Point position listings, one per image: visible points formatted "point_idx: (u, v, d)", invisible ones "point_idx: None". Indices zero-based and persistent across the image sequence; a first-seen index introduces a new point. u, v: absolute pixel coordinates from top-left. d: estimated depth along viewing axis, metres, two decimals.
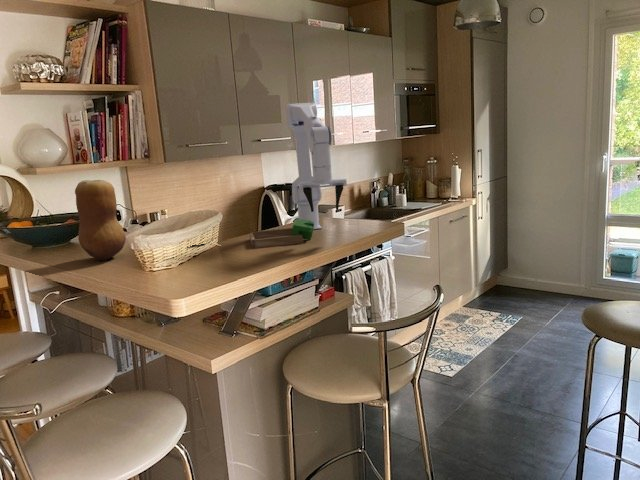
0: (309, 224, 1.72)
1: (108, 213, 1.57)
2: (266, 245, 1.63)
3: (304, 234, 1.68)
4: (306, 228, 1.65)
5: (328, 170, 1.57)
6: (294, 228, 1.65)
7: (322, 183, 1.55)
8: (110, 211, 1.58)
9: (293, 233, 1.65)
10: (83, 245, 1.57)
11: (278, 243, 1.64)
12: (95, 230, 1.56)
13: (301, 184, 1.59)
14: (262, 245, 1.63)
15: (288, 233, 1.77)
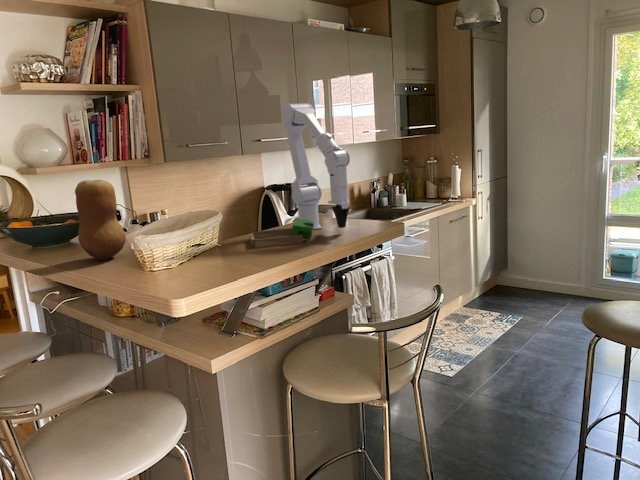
0: (309, 224, 1.72)
1: (108, 213, 1.57)
2: (266, 245, 1.63)
3: (304, 234, 1.68)
4: (306, 228, 1.65)
5: (334, 191, 1.69)
6: (294, 228, 1.65)
7: (328, 202, 1.71)
8: (110, 211, 1.58)
9: (293, 233, 1.65)
10: (83, 245, 1.57)
11: (278, 243, 1.64)
12: (95, 230, 1.56)
13: None
14: (262, 245, 1.63)
15: (288, 233, 1.77)
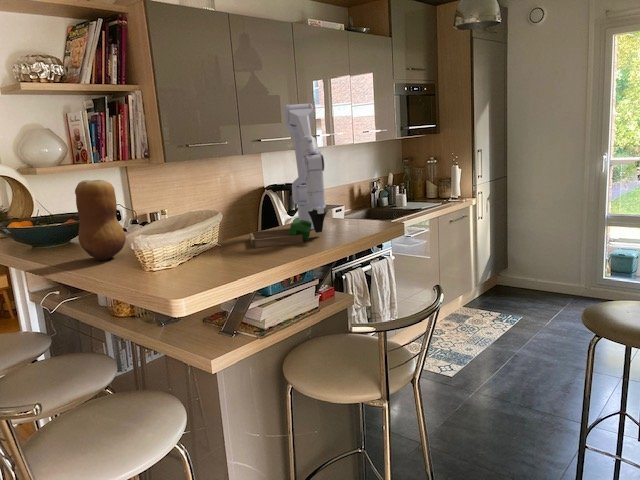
0: (306, 224, 1.72)
1: (108, 213, 1.57)
2: (266, 245, 1.63)
3: None
4: (303, 228, 1.65)
5: (310, 196, 1.68)
6: (291, 228, 1.65)
7: (304, 206, 1.70)
8: (110, 211, 1.58)
9: (290, 233, 1.65)
10: (83, 245, 1.57)
11: (278, 243, 1.64)
12: (95, 230, 1.56)
13: None
14: (262, 245, 1.63)
15: (288, 233, 1.77)
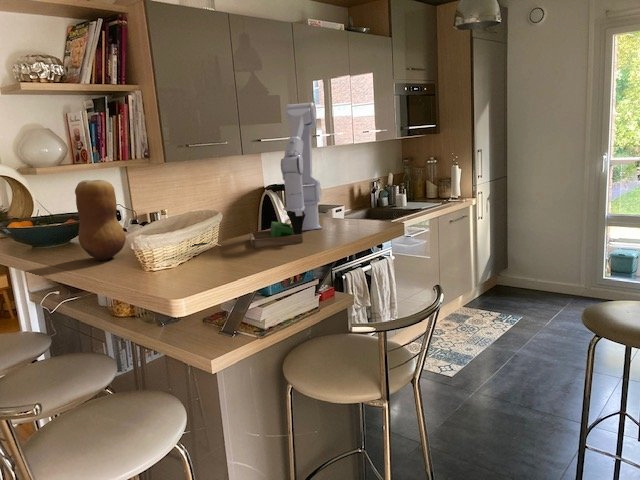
0: (286, 226, 1.72)
1: (108, 213, 1.57)
2: (266, 245, 1.63)
3: None
4: (288, 229, 1.64)
5: (289, 198, 1.66)
6: (276, 230, 1.64)
7: (283, 209, 1.69)
8: (110, 211, 1.58)
9: (275, 235, 1.64)
10: (83, 245, 1.57)
11: (278, 243, 1.64)
12: (95, 230, 1.56)
13: None
14: (262, 245, 1.63)
15: None
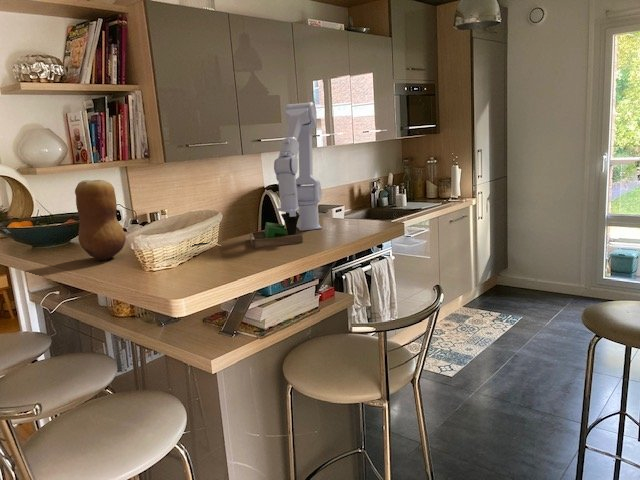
0: (280, 227, 1.72)
1: (108, 213, 1.57)
2: (266, 245, 1.63)
3: None
4: (282, 230, 1.64)
5: (283, 198, 1.66)
6: (270, 231, 1.63)
7: (277, 209, 1.69)
8: (110, 211, 1.58)
9: (269, 236, 1.64)
10: (83, 245, 1.57)
11: (278, 243, 1.64)
12: (95, 230, 1.56)
13: None
14: (262, 245, 1.63)
15: None
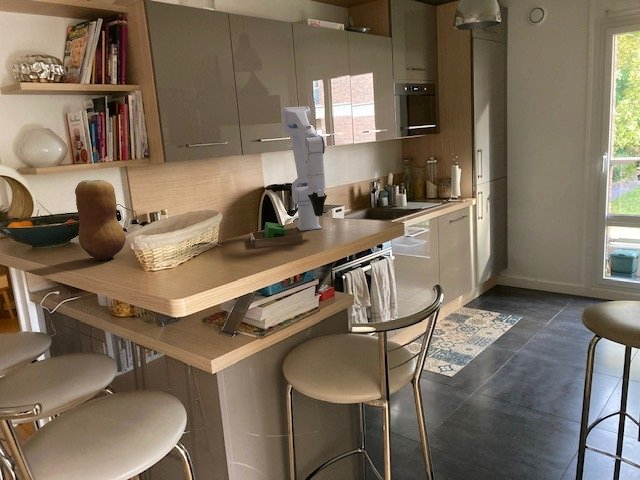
0: (279, 227, 1.72)
1: (108, 213, 1.57)
2: (266, 245, 1.63)
3: None
4: (281, 230, 1.64)
5: (311, 179, 1.67)
6: (269, 231, 1.63)
7: (304, 190, 1.69)
8: (110, 211, 1.58)
9: (268, 236, 1.64)
10: (83, 245, 1.57)
11: (278, 243, 1.64)
12: (95, 230, 1.56)
13: None
14: (262, 245, 1.63)
15: (288, 233, 1.77)
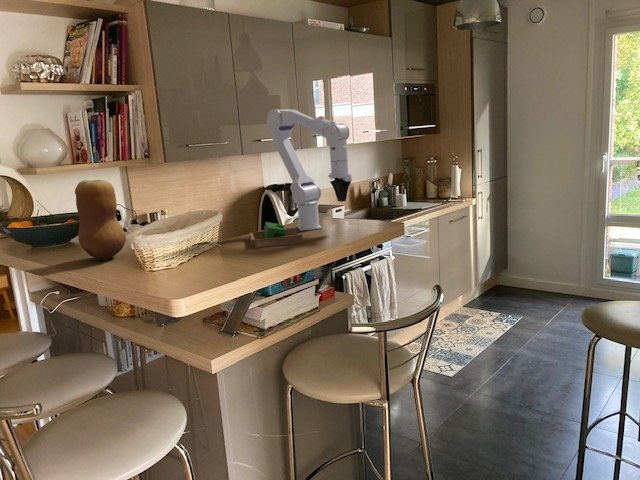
0: (279, 227, 1.72)
1: (108, 213, 1.57)
2: (266, 245, 1.63)
3: None
4: (281, 230, 1.64)
5: (336, 165, 1.71)
6: (269, 231, 1.63)
7: (329, 176, 1.73)
8: (110, 211, 1.58)
9: (268, 236, 1.64)
10: (83, 245, 1.57)
11: (278, 243, 1.64)
12: (95, 230, 1.55)
13: (330, 174, 1.80)
14: (262, 245, 1.63)
15: (288, 233, 1.77)
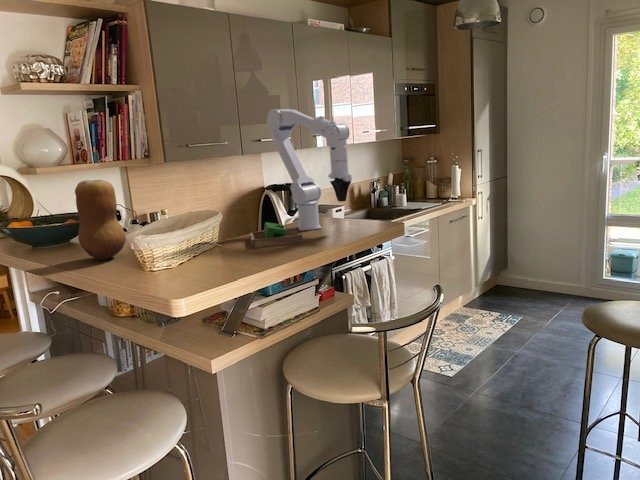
0: (279, 227, 1.72)
1: (108, 213, 1.57)
2: (266, 245, 1.63)
3: None
4: (281, 230, 1.64)
5: (336, 165, 1.71)
6: (269, 231, 1.63)
7: (329, 176, 1.73)
8: (110, 211, 1.58)
9: (268, 236, 1.64)
10: (83, 245, 1.57)
11: (278, 243, 1.64)
12: (95, 230, 1.56)
13: (330, 174, 1.80)
14: (262, 245, 1.63)
15: (288, 233, 1.77)
